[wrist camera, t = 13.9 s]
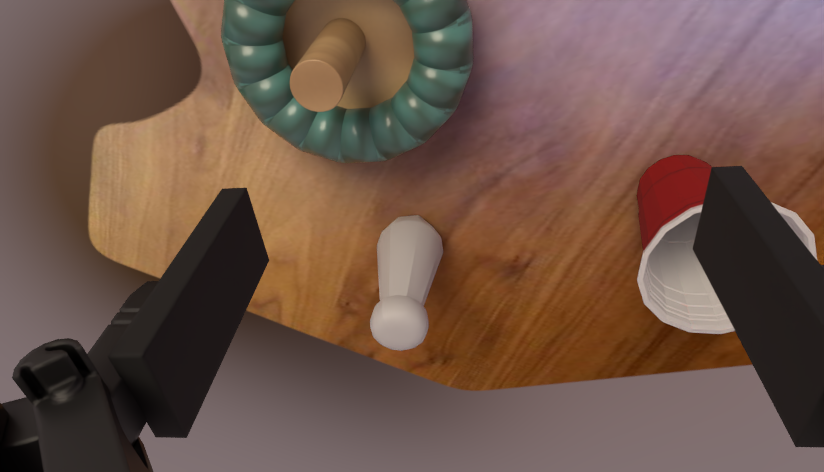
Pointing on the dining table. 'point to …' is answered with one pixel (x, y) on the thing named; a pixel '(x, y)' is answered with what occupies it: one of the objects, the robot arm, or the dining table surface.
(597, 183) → the dining table surface
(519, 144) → the dining table surface
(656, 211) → the plastic cup
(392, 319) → the salt shaker
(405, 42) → the peg stand
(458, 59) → the ring
